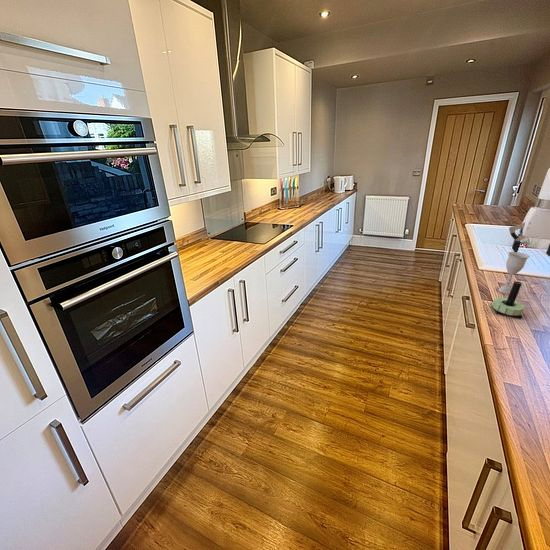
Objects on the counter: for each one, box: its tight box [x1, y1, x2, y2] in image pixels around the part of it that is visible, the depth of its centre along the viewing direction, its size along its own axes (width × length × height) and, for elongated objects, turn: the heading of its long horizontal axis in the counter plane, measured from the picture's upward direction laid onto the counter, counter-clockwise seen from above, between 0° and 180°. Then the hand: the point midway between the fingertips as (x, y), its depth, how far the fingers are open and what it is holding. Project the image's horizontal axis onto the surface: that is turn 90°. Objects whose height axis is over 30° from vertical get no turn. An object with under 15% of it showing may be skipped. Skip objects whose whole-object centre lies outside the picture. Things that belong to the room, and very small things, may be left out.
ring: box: [491, 296, 525, 316], centre depth 117 cm, size 10×10×3 cm
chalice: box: [497, 251, 530, 295], centre depth 129 cm, size 7×7×18 cm
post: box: [494, 280, 523, 319], centre depth 115 cm, size 8×8×13 cm
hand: (531, 253), depth 103 cm, fingers open, 9 cm apart
